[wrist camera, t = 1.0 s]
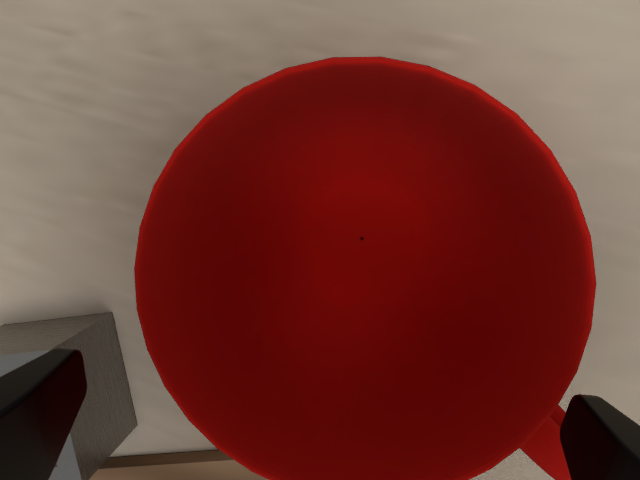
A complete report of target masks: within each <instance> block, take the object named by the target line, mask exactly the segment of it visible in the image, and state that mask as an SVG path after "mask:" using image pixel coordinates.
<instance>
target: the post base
mask: <svg viewBox="0 0 640 480" xmlns="http://www.w3.org/2000/svg"><path fill="white" fill-rule="evenodd" d="M89 480H269V479H266V478H264V477H262V476H260V475H258V474H255V473H253V472H251V471H250V470H248V469H247V468H245V467H244V466H242V465H241V464H239V463H238V462H237V461H235V460H234V459H232V458H231V457H229V456H228V455H226V454H225V453H223V452H222V451H220V450H210V451H196V452H182V453H168V454H154V455H140V456H125V457H111V458H108V459H107V460H106V461H105V462H104V463H103V464H102V465H101V466H100V468H99V469H98V470H97V471H96V472H95V473H94V474H93V476H92V477H91V478H90V479H89Z"/></svg>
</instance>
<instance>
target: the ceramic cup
mask: <svg viewBox="0 0 640 480" xmlns="http://www.w3.org/2000/svg"><path fill="white" fill-rule="evenodd" d="M361 237H363V238H361ZM134 271H135V287H136V303H137V312H138V316H139V320H140V323H141V327H142V331H143V335H144V339H145V342H146V346H147V350H148V352H149V354H150V356H151V358H152V360H153V362H154V365H155V367H156V369H157V371H158V373H159V375H160V377H161V379H162V382H163V384H164V386H165V387H166V389H167V390H168V392H169V393H170V394H171V396H172V397H173V399H174V400H175V401H176V403H177V404H178V406H179V407H180V409H181V410H182V411H183V413H184V414H185V416H186V417H187V418H188V420H189V421H190V422H191V423H192V424H193V425H194V426H195V427H196V428H197V429H198V430H199V431H200V432H201V433H202V434H203V435H204V436H205V437H206V438H207V439H208V440H209V441H210V442H211V443H212V444H213V445H215V446H216V447H217V448H218V449H219V450H220V451H222V452H223V453H225V454H226V455H228V456H229V457H231V458H232V459H234V460H235V461H237V462H238V463H239V464H241V465H242V466H244V467H245V468H247V469H248V470H250V471H251V472H253V473H255V474H258V475H260V476H262V477H264V478H266V479H269V480H469V479H471V478H473V477H475V476H477V475H479V474H482V473H484V472H486V471H488V470H490V469H492V468H493V467H494V466H496V465H497V464H498V463H500V462H501V461H502V460H504V459H505V458H506V457H508V456H509V455H510V454H512V453H513V452H514V451H516V450H517V449H518V448H520V449H521V450H522V451H523V452H524V453H525V454H526V455H528V456H529V457H530V458H531V459H532V460H533V461H534V462H535V463H536V464H537V465H538V466H539V467H541V468H542V469H543V470H544V471H545V472H546V473H547V474H549V475H550V476H551V477H552V478H554V479H555V480H571V477H570V473H569V470H568V466H567V463H566V459H565V456H564V452H563V448H562V445H561V441H560V427H561V424H562V422H563V419H564V416H565V414H566V412H565V411H564V410H563V409H562V408H561V407H560V406H559V405H558V404H559V402H560V400H561V399H562V397H563V395H564V393H565V392H566V390H567V388H568V386H569V385H570V383H571V381H572V380H573V378H574V376H575V374H576V373H577V370H578V367H579V364H580V361H581V358H582V355H583V352H584V349H585V346H586V343H587V340H588V337H589V334H590V331H591V326H592V317H593V308H594V299H595V289H596V277H595V268H594V259H593V251H592V242H591V235H590V232H589V230H588V227H587V224H586V221H585V218H584V215H583V212H582V209H581V206H580V203H579V200H578V197H577V194H576V191H575V190H574V188H573V186H572V185H571V183H570V181H569V180H568V178H567V176H566V175H565V173H564V171H563V170H562V168H561V166H560V165H559V163H558V161H557V160H556V158H555V156H554V155H553V153H552V151H551V150H550V149H549V148H548V147H547V145H546V144H545V143H544V142H543V141H542V140H541V139H540V138H539V137H538V136H537V135H536V134H535V133H534V132H533V130H532V129H531V128H530V127H529V126H528V125H527V124H526V123H525V122H524V121H523V120H522V119H521V118H520V117H519V115H518V114H516V113H515V112H514V111H512V110H511V109H509V108H508V107H506V106H505V105H503V104H502V103H501V102H499V101H498V100H496V99H495V98H493V97H492V96H490V95H489V94H487V93H486V92H484V91H483V90H482V89H480V88H479V87H477V86H476V85H474V84H471V83H469V82H466V81H464V80H462V79H459V78H457V77H454V76H452V75H450V74H447V73H445V72H442V71H440V70H437V69H435V68H433V67H430V66H426V65H421V64H416V63H411V62H405V61H400V60H395V59H390V58H385V57H332V58H328V59H323V60H319V61H315V62H310V63H306V64H302V65H297V66H293V67H289V68H285V69H283V70H281V71H279V72H276V73H274V74H272V75H270V76H268V77H265V78H263V79H261V80H259V81H257V82H255V83H252V84H250V85H248V86H246V87H244V88H242V89H241V90H239V91H238V92H237V93H235V94H234V95H233V96H231V97H230V98H228V99H227V100H226V101H224V102H223V103H222V104H220V105H219V106H217V107H216V108H215V109H213V110H212V111H211V112H209V113H208V114H207V115H205V117H204V118H203V119H202V120H201V121H200V122H199V123H198V124H197V125H196V126H195V128H194V129H193V130H192V131H191V132H190V133H189V134H188V135H187V136H186V138H185V139H184V140H183V141H182V142H181V143H180V144H179V145H178V146H177V147H176V149H175V150H174V152H173V154H172V155H171V157H170V159H169V161H168V162H167V164H166V166H165V167H164V169H163V171H162V173H161V174H160V176H159V178H158V180H157V181H156V183H155V185H154V186H153V189H152V192H151V195H150V198H149V201H148V204H147V207H146V210H145V213H144V216H143V219H142V222H141V225H140V230H139V237H138V245H137V252H136V260H135V267H134Z"/></svg>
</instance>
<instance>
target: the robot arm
mask: <svg viewBox="0 0 640 480" xmlns="http://www.w3.org/2000/svg"><path fill="white" fill-rule="evenodd" d="M86 392H87V379H86V373H85V367H84V361H83V356H82V353H81V351H79V350H78V349H71V348H55V349H53V350H51V351H49V352H47V353H45V354H43V355H41V356H39V357H37V358H35V359H33V360H31V361H30V362H28V363H26V364H24V365H22V366H20V367H18V368H16V369H14V370H12V371H10V372H8V373H6V374H5V375H3V376H1V377H0V480H48V479H49V478H50V476H51V474H52V471H53V469H54V467H55V465H56V463H57V461H58V458H59V456H60V454H61V451H62V449H63V447H64V445H65V442H66V440H67V438H68V435H69V433H70V431H71V429H72V426H73V424H74V422H75V419H76V417H77V415H78V412H79V410H80V408H81V406H82V403H83V401H84V399H85V396H86ZM560 441H561V445H562V448H563V452H564V456H565V459H566V463H567V466H568V470H569V473H570V477H571V480H640V426H639V425H638V424H637V423H635V422H634V421H632V420H631V419H630V418H628V417H627V416H626V415H624V414H623V413H621V412H620V411H619V410H617V409H616V408H614V407H613V406H612V405H610V404H609V403H608V402H606V401H605V400H603V399H602V398H600V397H598V396H592V395H580V394H578V395H575V396H573V397H572V399H571V401H570V403H569V406H568V408H567V411H566V414H565V416H564V419H563V422H562V424H561V427H560Z"/></svg>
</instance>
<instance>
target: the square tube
mask: <svg viewBox="0 0 640 480" xmlns="http://www.w3.org/2000/svg"><path fill="white" fill-rule="evenodd" d="M55 348H71V349H78V350H79V351H81V353H82V356H83V361H84V367H85V373H86V379H87V392H86V396H85V399H84V401H83V403H82V406H81V408H80V410H79V412H78V415H77V417H76V419H75V422H74V424H73V426H72V429H71V431H70V433H69V435H68V438H67V440H66V442H65V445H64V447H63V449H62V451H61V454H60V456H59V458H58V461H57V463H56V465H55V467H54V469H53V471H52V474H51V476H50V478H49V479H48V480H89V479H90V478H91V477H92V476H93V474H94V473H95V472H96V471H97V470H98V469H99V468H100V466H101V465H102V464H103V463H104V462H105V461H106V460H107V459H108V457H109V456H110V455H111V454H112V453H113V452H114V451H115V450H116V448H117V447H118V446H119V445H120V444H121V443H122V442H123V441H124V439H125V438H126V437H127V436H128V435H129V434H130V433H131V431H132V430H133V429H134V428H135V427H136V426H137V422H136V417H135V413H134V408H133V404H132V400H131V395H130V391H129V386H128V382H127V377H126V373H125V368H124V364H123V359H122V355H121V351H120V346H119V342H118V337H117V333H116V328H115V324H114V319H113V315H112V313H104V314H95V315H86V316H78V317H69V318H60V319H52V320H43V321H34V322H26V323H17V324H8V325H2V326H0V377H1V376H3V375H5V374H6V373H8V372H10V371H12V370H14V369H16V368H18V367H20V366H22V365H24V364H26V363H28V362H30V361H31V360H33V359H35V358H37V357H39V356H41V355H43V354H45V353H47V352H49V351H51V350H53V349H55Z"/></svg>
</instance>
